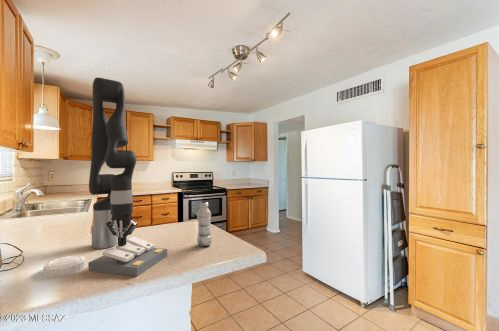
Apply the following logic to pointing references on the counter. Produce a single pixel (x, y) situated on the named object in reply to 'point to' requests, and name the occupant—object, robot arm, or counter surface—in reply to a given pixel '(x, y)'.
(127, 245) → the plate
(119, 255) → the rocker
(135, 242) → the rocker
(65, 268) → the mooncake
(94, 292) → the counter surface
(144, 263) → the switch console
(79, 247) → the counter surface
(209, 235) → the plastic bottle
